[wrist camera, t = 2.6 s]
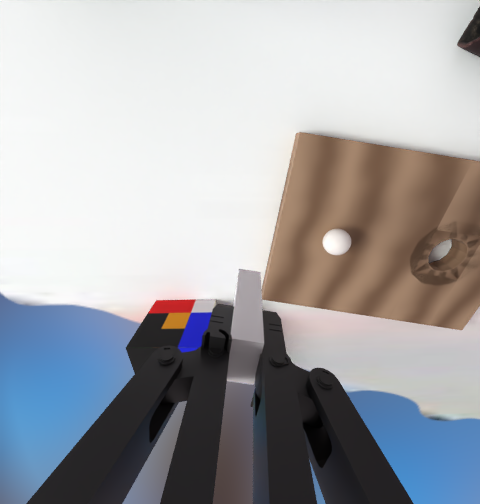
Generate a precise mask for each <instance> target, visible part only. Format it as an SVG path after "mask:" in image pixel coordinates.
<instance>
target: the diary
mask: <svg viewBox="0 0 480 504" xmlns="http://www.w3.org/2000/svg"><path fill="white" fill-rule="evenodd" d="M457 45H458V46H459V47H461V48H463V49H465V50H467V51H469V52H471V53H473V54H475V55H477V56H479V57H480V7H479V8H478V10H477V12H476V13H475V15H474V17H473V20H472V21H471V22H470V23H469V25H468V27H467V28H466V30H465V32H464V33H463V35H462V37H461V38H460V40H459V41H458V44H457Z"/></svg>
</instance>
